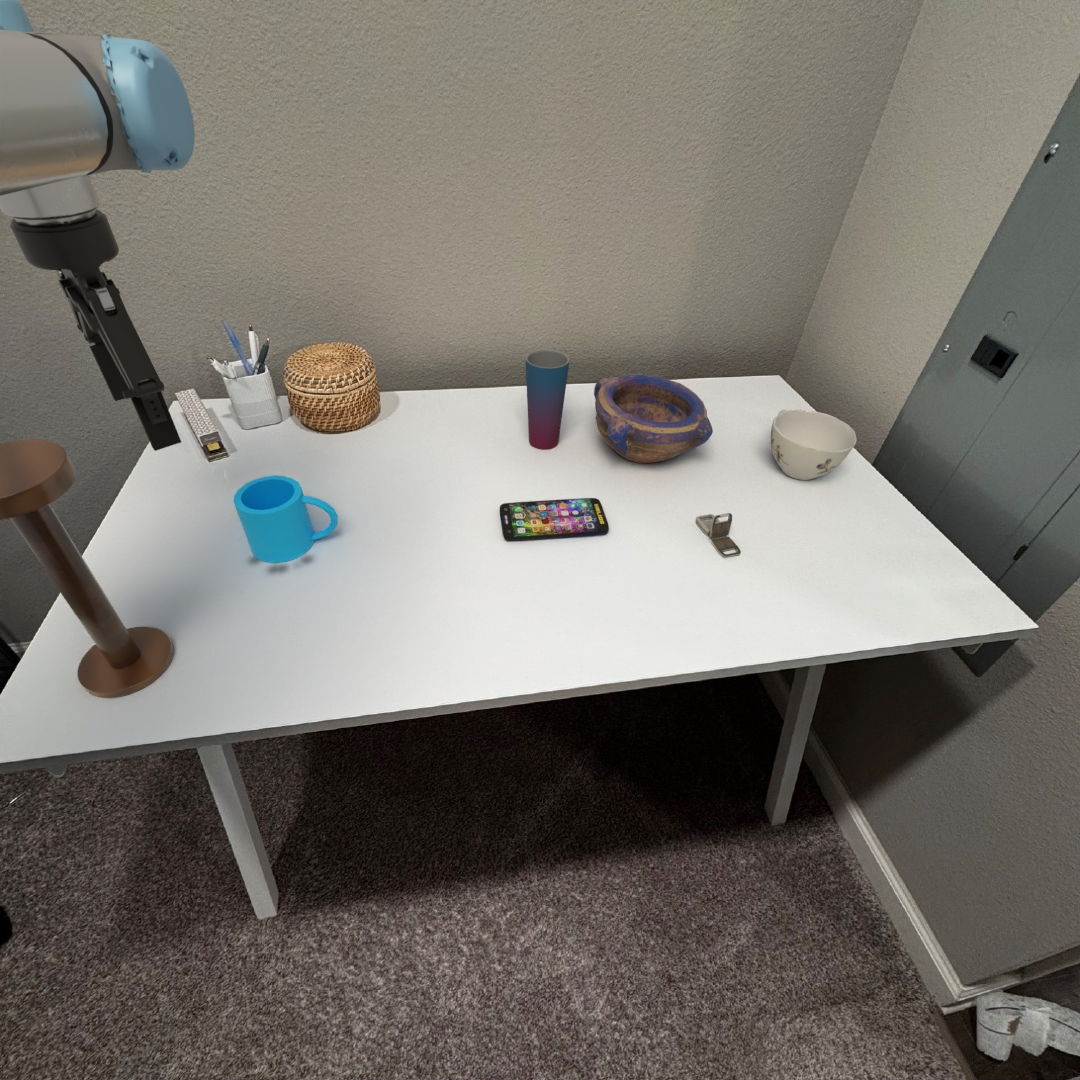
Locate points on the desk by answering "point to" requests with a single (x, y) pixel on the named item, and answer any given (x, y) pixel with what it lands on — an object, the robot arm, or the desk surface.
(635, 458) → the bowl
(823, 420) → the teacup
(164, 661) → the stand
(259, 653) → the desk surface
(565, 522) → the smartphone
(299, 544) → the mug
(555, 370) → the cup
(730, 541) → the strap clip
